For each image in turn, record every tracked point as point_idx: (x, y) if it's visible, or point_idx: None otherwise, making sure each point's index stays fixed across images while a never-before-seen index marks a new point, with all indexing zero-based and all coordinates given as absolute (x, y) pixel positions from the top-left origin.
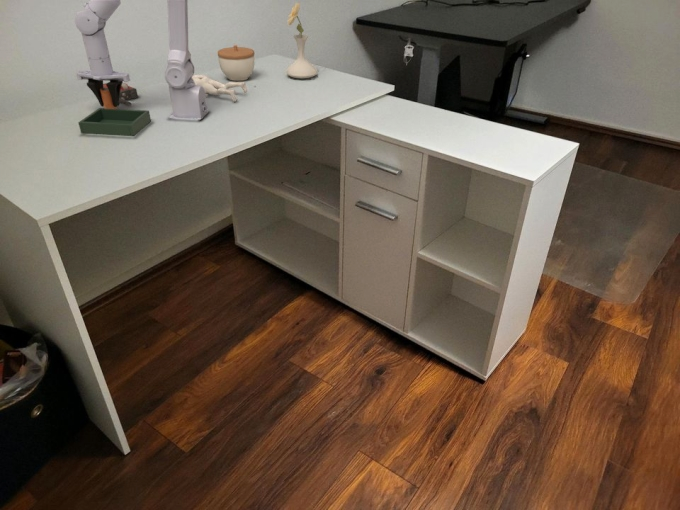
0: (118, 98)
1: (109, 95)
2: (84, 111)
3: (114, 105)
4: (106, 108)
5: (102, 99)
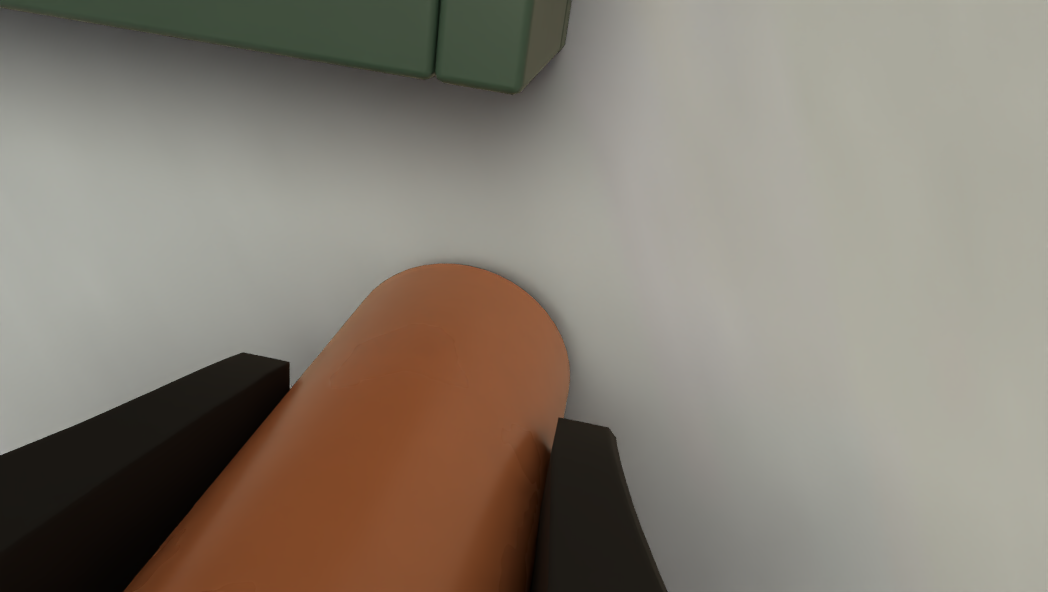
0: None
1: (161, 562)
2: (1039, 559)
3: (245, 366)
4: (271, 37)
5: (491, 519)
